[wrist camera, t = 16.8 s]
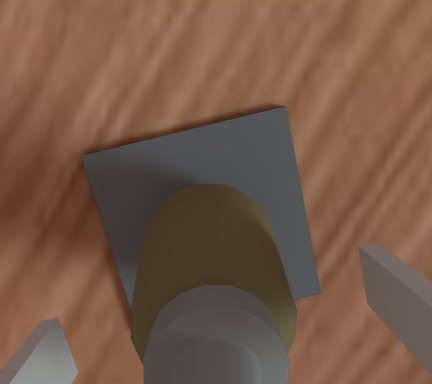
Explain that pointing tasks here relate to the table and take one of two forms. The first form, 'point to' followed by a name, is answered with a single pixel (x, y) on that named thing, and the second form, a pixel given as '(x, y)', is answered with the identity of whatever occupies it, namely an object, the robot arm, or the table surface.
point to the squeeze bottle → (212, 292)
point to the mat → (206, 174)
